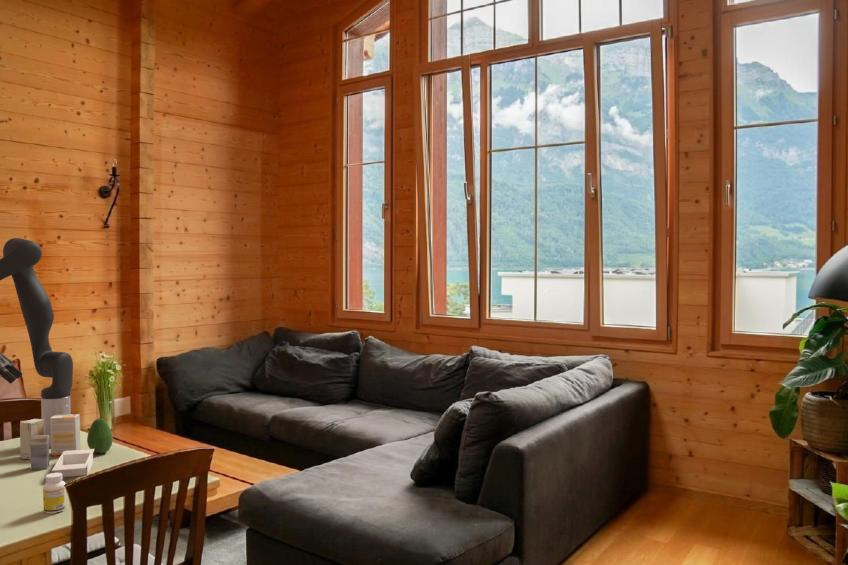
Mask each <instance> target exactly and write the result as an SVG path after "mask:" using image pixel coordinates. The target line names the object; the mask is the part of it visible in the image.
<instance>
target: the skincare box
mask: <svg viewBox="0 0 848 565" xmlns="http://www.w3.org/2000/svg"><path fill="white" fill-rule="evenodd" d="M19 423H20V424H19V426H20V428H19V433H20V435H19V436H20V440H19V443H20V444H19V445H20V446H19V447H20V449H19V453H20V454H19V458H20V459H21V460H22V459H24V460H25V459H26V460H31V438H32V437H33V436H39V435H44V420H42V418H32V419H29V420H24V421H22V422H19Z"/></svg>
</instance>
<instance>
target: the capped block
mask: <svg viewBox="0 0 848 565" xmlns="http://www.w3.org/2000/svg"><path fill="white" fill-rule="evenodd" d="M49 466H50V447H49V435H39V436H33V437H32V438H31V459H30V471H37V470H39V471H40V470H41V471H42V470H48V468H49Z"/></svg>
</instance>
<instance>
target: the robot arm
mask: <svg viewBox="0 0 848 565" xmlns="http://www.w3.org/2000/svg"><path fill="white" fill-rule="evenodd" d="M2 253H3V254H2V255H3V257H1V258H0V281H2V280H4V279H6V278H8V277H12V280H13V284H14V287H15V291H16V295H17V299H18V302H19V306H20V310H21V314H22V317H23V319H24V320H23V321H24V323H25V325H26V331H27V334H28V338H29V341H30V346H31V354H32V359H33V364H34V367H35V370H36V372H37V374H38V375H39V376H40V377H43V378H50V379H51V378H52V379H51V380H52V381H51V385H49V386H47V387H44V388H42V390H41V392H40V396H41V397H40V400H41V401H40V403H41V404H40V407H41V419H42V420H44V435H49V448H51V428H50V418H51V417H53V416H54V415H69V414H71V390H72V388H73V374H74V361H73V358H72V355H71V354H69V353H68V352H65V351H53V350H52V347H51V344H50V338H49V337H50V336H49V335H50V331H51V329H52V326H53V325H54V324H53V323H54V321H55V320H54V319H55V314H54V310H53V305H52V303H51V300H50V297H49V295H48V293H47V291H46V289H45V288H44V286H43V285H42V283H41V282H40V280H39V278H38V277H37V275H36V272H35V268H34V266H36V265H37V264H38V263H39V261H41V258H42V254H43V251H42V248H41V246H39V244H37V242H35V241H33V240H28V239H25V238H20V237H13V238H9V239H8V240H7V241H6V242H5V243H4V245H3V248H2ZM22 376H23V372H21V371H20V369H18V368H16V367H15V365H14V362H13V360H11V359H10V358H8V357H7V356H6V355H4V353H3V352H1V351H0V377H1V378H3V379H4V380H5V381H6V382H8V383H9V384H12V383H14V382H15V381H16V379H19V378H20V377H22Z"/></svg>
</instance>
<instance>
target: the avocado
mask: <svg viewBox="0 0 848 565" xmlns="http://www.w3.org/2000/svg"><path fill="white" fill-rule="evenodd" d="M86 438H87V440H86V443H87V446H88V449H94V452H93V453H95V454H104V453H106V452H108V451H110V449H111V447H112V445H113V442H114V439H113V432H112V430H111V427H110V426H109V424H108V422H107V421H106V420H105V419H104V418H97V419H94V420H93V422H92V424H91V425H90V428H89V431H88V433H87V437H86Z"/></svg>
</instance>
